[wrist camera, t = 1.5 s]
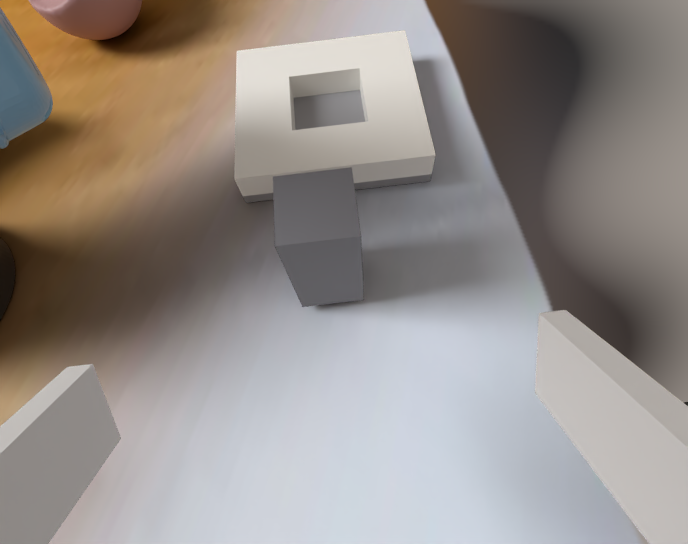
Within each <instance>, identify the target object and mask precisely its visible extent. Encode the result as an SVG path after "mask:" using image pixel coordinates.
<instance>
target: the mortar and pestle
mask: <svg viewBox="0 0 688 544" xmlns="http://www.w3.org/2000/svg"><path fill="white" fill-rule="evenodd" d="M29 2H30V3H31V5H32V6H33V8H34V9H35V10H36V11H37V12H38V13H39V14H40V15H41V16H43V17H44V18H45V19H46V20H47V21H49V22H50V23H51V24H53V25H54V26H56V27H57V28H59V29H61V30H63V31H65V32H67V33H69V34H71V35H74V36H77V37H80V38H84V39H90V40H105V39H110V38H114V37H116V36H119V35H121V34H122V33H124V32H125V31H126V30H128V29H129V28H130V27H131V26H132V25H133V23H134V22H135V20H136V19H137V17H138V14H139V12H140V9H141V5H142V0H29Z"/></svg>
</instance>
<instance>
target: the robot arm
mask: <svg viewBox="0 0 688 544" xmlns="http://www.w3.org/2000/svg"><path fill="white" fill-rule="evenodd" d="M52 106H53V101H52V96H51V92H50V90H49V88H48V86H47V84H46V82H45V80H44V78H43V76H42V75H41V73H40V71H39V69H38V68H37V66H36V64H35V62H34V61H33V59H32V57H31V56H30V54H29V52H28V51H27V49H26V48H25V46H24V44H23V43H22V41H21V39H20V38H19V36H18V35H17V33H16V31H15V30H14V28H13V27H12V25H11V23H10V22H9V20H8V19H7V17H6V16H5V14H4V12H3V11H2V9H1V8H0V148H1V149H3V148H6V147H7V146H8V144H9V141H10V140H12V139H14V138H16V137H18V136H20V135H21V134H23V133H25V132H27V131H29V130H30V129H32V128H34V127H36V126H38V125H39V124H41V123H43V122H44V121H45V120H46V119H47V118H48V117H49V115H50V113H51V111H52ZM14 282H15V264H14V259H13V256H12V253H11V251H10V249H9V247H8V246H7V244H6V243H5V242H4V241H3V239H1V238H0V319H1V318H2V316H3V314H4V312H5V310H6V308H7V306H8V303H9V301H10V298H11V295H12V292H13V288H14ZM535 394H536V395H537V396H538V398H539V399H540V400H541V402H542V403H543V404H544V406H545V407H546V408H547V410H548V411H549V412H550V413H551V415H552V416H553V417H554V419H555V420H556V421H557V423H558V424H559V425H560V427H561V428H562V429H563V431H564V432H565V433H566V435H567V436H568V437H569V439H570V440H571V441H572V443H573V444H574V445H575V447H576V448H577V449H578V451H579V452H580V453H581V455H582V456H583V457H584V458H585V460H586V461H587V462H588V464H589V465H590V466H591V468H592V469H593V470H594V472H595V473H596V474H597V476H598V477H599V478H600V480H601V481H602V482H603V484H604V485H605V486H606V488H607V489H608V490H609V492H610V493H611V494H612V496H613V497H614V498H615V500H616V501H617V502H618V504H619V505H620V506H621V507H622V509H623V510H624V511H625V513H626V514H627V515H628V517H629V518H630V519H631V521H632V522H633V523H634V525H635V526H636V527H637V529H638V530H639V531H640V533H641V534H642V535H643V537H644V538H645V539H646V541H647V542H648V543H649V544H688V402H684V403H683V402H682V401H680V400H679V399H678V398H677V397H675V396H674V395H673V394H672V393H670V392H669V391H668V390H667V389H665V388H664V387H662V386H661V385H660V384H659V383H658V382H656V381H655V380H654V379H653V378H651V377H650V376H649V375H647V374H646V373H645V372H644V371H642V370H641V369H640V368H639V367H637V366H636V365H635V364H634V363H632V362H631V361H630V360H628V359H627V358H626V357H625V356H623V355H622V354H621V353H620V352H618V351H617V350H616V349H614V348H613V347H612V346H611V345H609V344H608V343H607V342H605V341H604V340H603V339H602V338H600V337H599V336H598V335H597V334H595V333H594V332H593V331H592V330H590V329H589V328H588V327H587V326H585V325H584V324H583V323H581V322H580V321H579V320H578V319H576V318H575V317H574V316H572V315H571V314H570V313H569V312H567V311H566V310H562V311H553V312H544V313H539V323H538V342H537V362H536V381H535ZM120 439H121V437H120V434H119V432H118V429H117V427H116V424H115V421H114V419H113V416H112V413H111V411H110V408H109V405H108V403H107V400H106V398H105V395H104V392H103V390H102V387H101V384H100V382H99V379H98V376H97V374H96V371H95V369H94V366H93V364H88V365H79V366H70V367H67V368H65V369H64V370H63V371H62V372H61V373H60V374H59V375H58V376H56V377H55V378H54V379H53V380H52V381H51V382H50V383H49V384H47V385H46V386H45V387H44V388H43V389H42V390H41V391H40V392H38V393H37V394H36V395H35V396H34V397H33V398H32V399H31V400H29V401H28V402H27V403H26V404H25V405H24V406H23V407H22V408H20V409H19V410H18V411H17V412H16V413H15V414H14V415H13V416H11V417H10V418H9V419H8V420H7V421H6V422H5V423H4V424H2V425H1V426H0V544H48V543H49V542H50V540H51V539H52V537H53V536H54V535H55V533H56V532H57V530H58V529H59V527H60V526H61V524H62V523H63V522H64V520H65V519H66V517H67V516H68V514H69V513H70V511H71V510H72V508H73V507H74V506H75V504H76V503H77V501H78V500H79V498H80V497H81V495H82V494H83V493H84V491H85V490H86V488H87V487H88V485H89V484H90V482H91V481H92V480H93V478H94V477H95V475H96V474H97V472H98V471H99V469H100V468H101V467H102V465H103V464H104V462H105V461H106V459H107V458H108V456H109V455H110V454H111V452H112V451H113V449H114V448H115V446H116V445H117V443H118V442H119V441H120Z"/></svg>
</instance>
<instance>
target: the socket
mask: <svg viewBox="0 0 688 544" xmlns="http://www.w3.org/2000/svg"><path fill="white" fill-rule="evenodd" d="M435 156H436V154H435V150H434V146H433V142H432V138H431V134H430V130H429V126H428V122H427V118H426V114H425V109H424V105H423V101H422V97H421V93H420V89H419V85H418V81H417V77H416V73H415V69H414V65H413V61H412V57H411V53H410V49H409V45H408V41H407V36H406V32H405V30H403V31H395V32H386V33H378V34H370V35H362V36H354V37H346V38H338V39H330V40H321V41H313V42H305V43H297V44H289V45H281V46H273V47H264V48H256V49H248V50H240V51H237V68H236V115H235V163H234V180H235V182H236V184H237V186H238V188H239V190H240V192H241V194H242V196H243V198H244V200H245V202H246V203H248V202H257V201H265V200H273V176H281V175H290V174H298V173H307V172H315V171H324V170H332V169H341V168H349V167H352V173H353V180H354V188H355V190H359V189H367V188H376V187H384V186H393V185H401V184H410V183H418V182H427V181H430V180H431V175H432V170H433V166H434V161H435Z"/></svg>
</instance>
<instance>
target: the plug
mask: <svg viewBox="0 0 688 544" xmlns="http://www.w3.org/2000/svg"><path fill="white" fill-rule="evenodd" d="M273 201H274V235H275V248H276V250H277V252H278V254H279V256H280V259H281V261H282V263H283V265H284V267H285V269H286V272H287V274H288V276H289V278H290V280H291V283H292V285H293V287H294V289H295V291H296V293H297V296H298V298H299V300H300V302H301V304H302V307H306V306H314V305H323V304H332V303H341V302H350V301H358V300H364V293H363V270H362V248H361V233H360V225H359V218H358V210H357V203H356V195H355V188H354V180H353V173H352V167H349V168H341V169H332V170H324V171H315V172H307V173H298V174H290V175H281V176H273Z"/></svg>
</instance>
